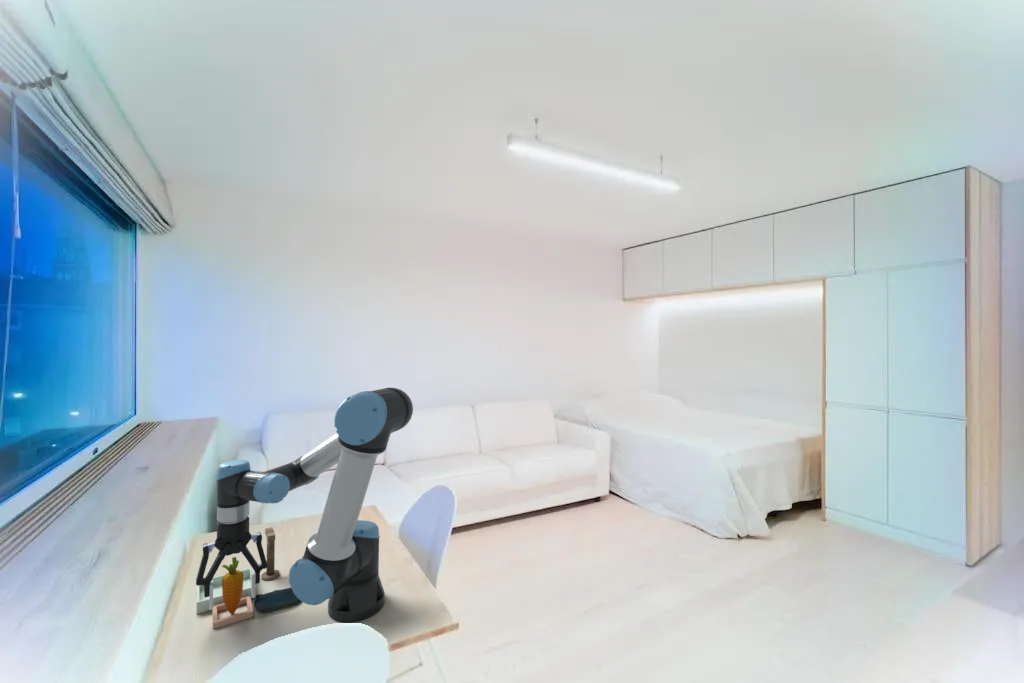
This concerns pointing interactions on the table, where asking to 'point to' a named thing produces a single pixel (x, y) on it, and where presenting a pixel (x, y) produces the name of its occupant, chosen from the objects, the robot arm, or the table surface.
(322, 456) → the robot arm
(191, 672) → the table surface
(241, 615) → the holder ring
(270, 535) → the t stake
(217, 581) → the tray
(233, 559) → the carrot
